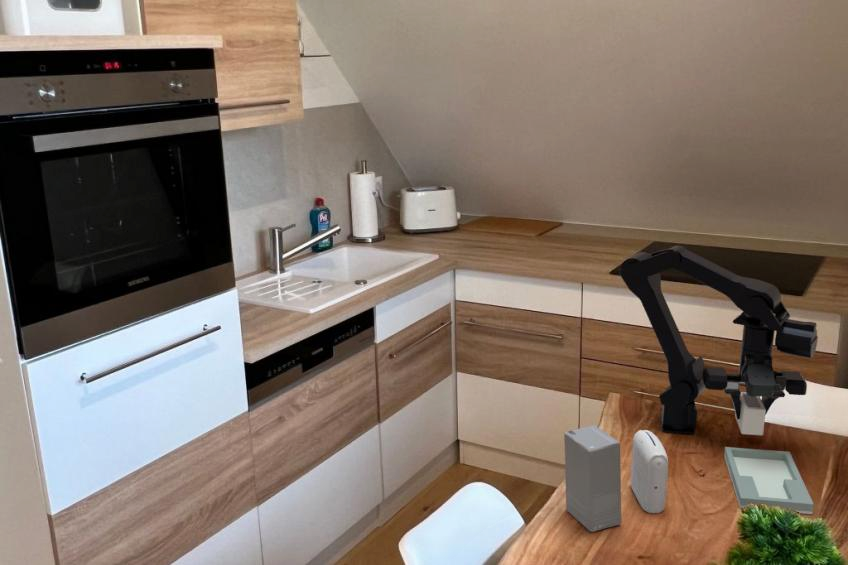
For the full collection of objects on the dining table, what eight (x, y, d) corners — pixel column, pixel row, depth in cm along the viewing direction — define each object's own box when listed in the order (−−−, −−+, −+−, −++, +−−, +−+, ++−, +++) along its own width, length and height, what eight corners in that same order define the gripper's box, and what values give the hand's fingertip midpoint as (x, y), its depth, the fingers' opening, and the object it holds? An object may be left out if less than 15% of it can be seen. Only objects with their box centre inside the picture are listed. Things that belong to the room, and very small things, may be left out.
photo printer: (667, 513, 144) (672, 450, 141) (643, 514, 144) (647, 451, 140) (650, 483, 154) (654, 423, 150) (627, 484, 154) (631, 424, 150)
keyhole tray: (740, 507, 145) (741, 498, 145) (724, 455, 163) (725, 446, 163) (812, 514, 143) (813, 504, 143) (788, 460, 161) (789, 451, 160)
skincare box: (621, 525, 141) (626, 442, 136) (586, 535, 138) (590, 451, 134) (594, 501, 148) (598, 421, 144) (560, 509, 146) (563, 429, 141)
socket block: (741, 433, 163) (744, 407, 161) (735, 416, 170) (737, 391, 169) (763, 435, 162) (765, 409, 160) (755, 417, 169) (758, 392, 168)
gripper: (712, 359, 155) (706, 434, 160) (818, 365, 152) (808, 441, 156) (705, 339, 166) (699, 409, 170) (803, 344, 162) (795, 416, 167)
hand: (749, 419), depth 166 cm, fingers closed on socket block, 4 cm apart
